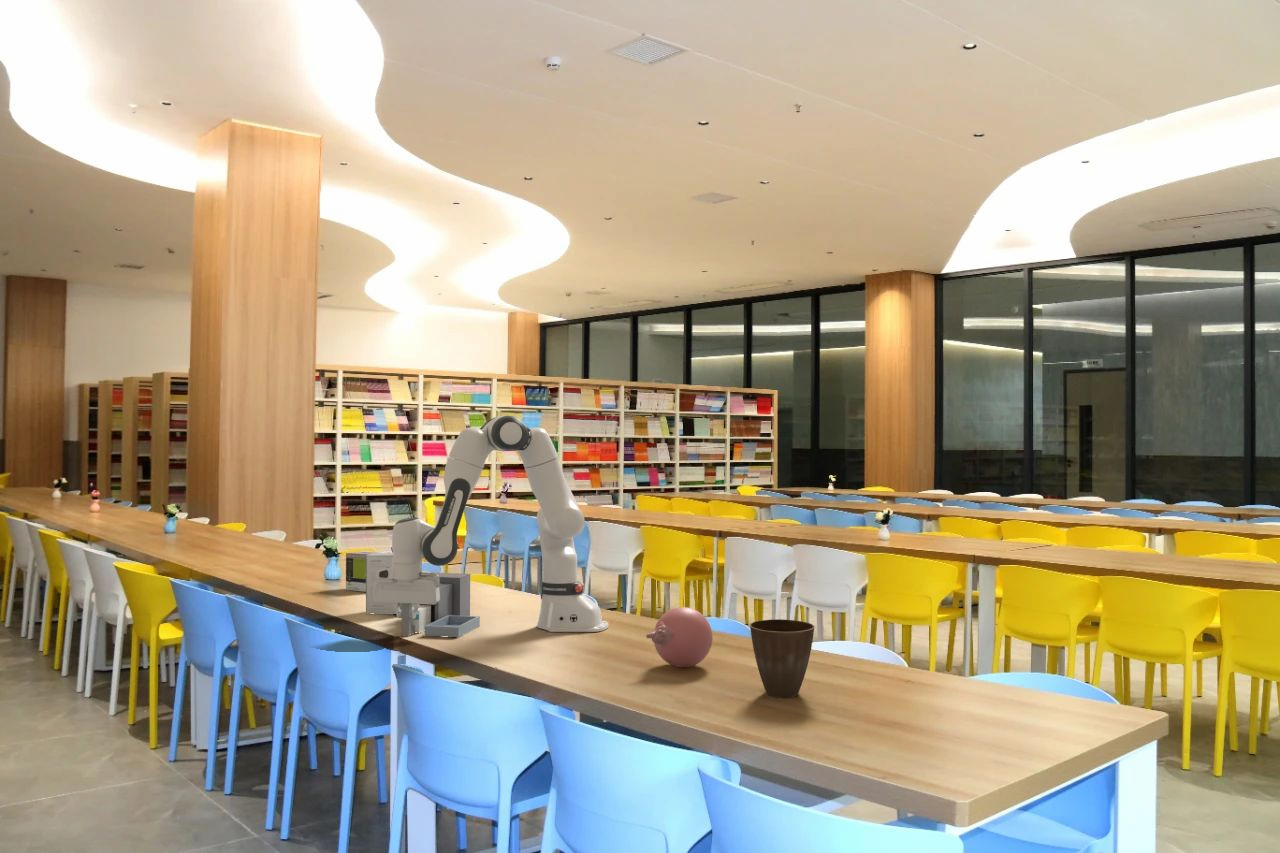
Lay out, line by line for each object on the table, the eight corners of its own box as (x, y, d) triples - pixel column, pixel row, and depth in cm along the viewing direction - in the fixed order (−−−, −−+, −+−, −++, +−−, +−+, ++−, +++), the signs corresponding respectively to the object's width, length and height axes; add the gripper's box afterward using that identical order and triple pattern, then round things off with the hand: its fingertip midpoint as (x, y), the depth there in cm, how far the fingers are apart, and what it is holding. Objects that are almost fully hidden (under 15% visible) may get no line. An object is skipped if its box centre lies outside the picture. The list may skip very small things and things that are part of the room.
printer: (470, 615, 329) (470, 573, 330) (445, 628, 308) (445, 583, 308) (430, 614, 332) (430, 572, 332) (403, 626, 310) (403, 581, 310)
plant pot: (806, 705, 221) (806, 633, 221) (742, 698, 227) (742, 628, 227) (819, 689, 235) (820, 622, 235) (758, 683, 240) (759, 617, 241)
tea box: (391, 590, 384) (391, 552, 385) (371, 593, 376) (372, 554, 376) (364, 587, 392) (364, 549, 393) (344, 590, 384) (344, 552, 384)
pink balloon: (627, 667, 257) (627, 608, 257) (687, 657, 269) (687, 600, 269) (663, 679, 244) (664, 616, 244) (724, 668, 256) (724, 608, 256)
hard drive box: (417, 611, 338) (417, 553, 338) (409, 615, 330) (410, 555, 330) (373, 610, 339) (373, 552, 339) (364, 614, 331) (365, 554, 332)
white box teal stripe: (430, 628, 308) (431, 595, 308) (413, 636, 295) (413, 602, 295) (415, 627, 309) (415, 595, 309) (397, 635, 296) (397, 602, 296)
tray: (479, 626, 311) (479, 616, 311) (458, 638, 293) (458, 627, 293) (447, 625, 313) (447, 615, 313) (424, 636, 295) (424, 626, 295)
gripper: (443, 571, 298) (443, 617, 297) (380, 569, 301) (379, 615, 301) (435, 574, 291) (434, 621, 291) (370, 572, 295) (370, 618, 295)
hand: (406, 618), depth 296 cm, fingers closed on white box teal stripe, 2 cm apart
